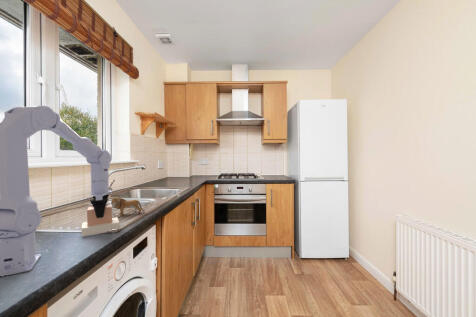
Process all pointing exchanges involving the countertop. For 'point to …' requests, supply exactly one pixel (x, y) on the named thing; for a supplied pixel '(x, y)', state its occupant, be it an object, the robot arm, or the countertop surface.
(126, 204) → the lion figurine
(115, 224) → the cream base brick
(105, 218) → the terracotta brick
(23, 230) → the robot arm
